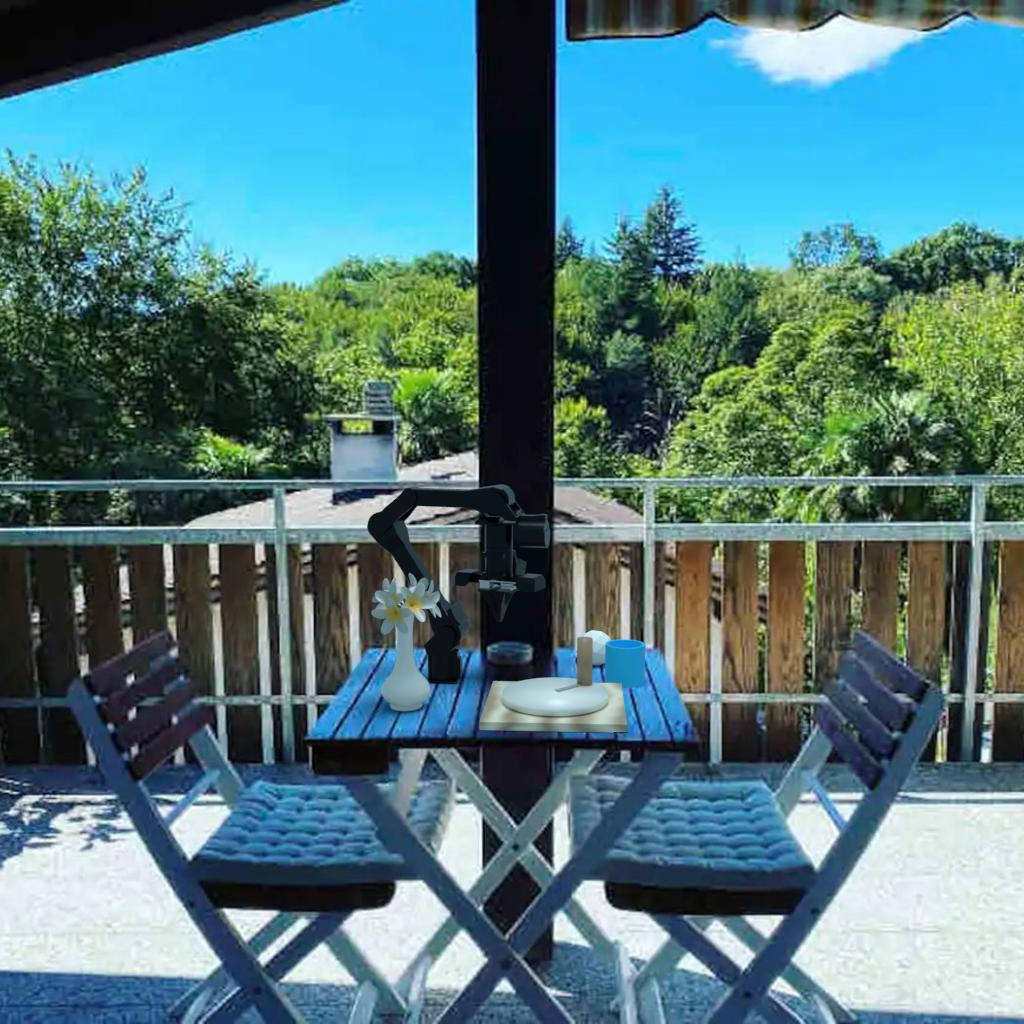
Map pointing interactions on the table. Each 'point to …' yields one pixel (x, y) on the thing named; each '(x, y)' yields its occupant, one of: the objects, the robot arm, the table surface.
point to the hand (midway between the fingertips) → (499, 621)
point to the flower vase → (405, 639)
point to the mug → (625, 662)
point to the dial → (560, 690)
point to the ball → (598, 645)
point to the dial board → (511, 720)
